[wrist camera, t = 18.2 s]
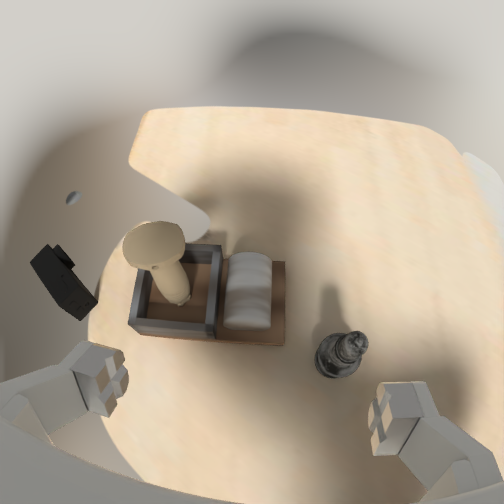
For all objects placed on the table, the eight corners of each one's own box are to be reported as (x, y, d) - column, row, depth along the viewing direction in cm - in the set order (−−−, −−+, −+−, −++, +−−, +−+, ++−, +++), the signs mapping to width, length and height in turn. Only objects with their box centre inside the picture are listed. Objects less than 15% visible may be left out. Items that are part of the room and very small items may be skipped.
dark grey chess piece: (352, 338, 43) (384, 312, 32) (354, 379, 40) (389, 365, 29) (312, 339, 43) (333, 313, 32) (312, 381, 40) (335, 369, 29)
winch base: (283, 345, 42) (289, 333, 37) (140, 334, 43) (124, 321, 37) (284, 266, 48) (288, 243, 42) (153, 259, 48) (141, 237, 43)
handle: (157, 284, 45) (123, 227, 32) (200, 277, 46) (181, 217, 32) (159, 315, 43) (122, 268, 29) (205, 309, 43) (185, 258, 30)
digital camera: (104, 297, 45) (84, 279, 39) (81, 322, 43) (59, 306, 37) (71, 259, 48) (52, 237, 42) (50, 280, 46) (29, 261, 40)
